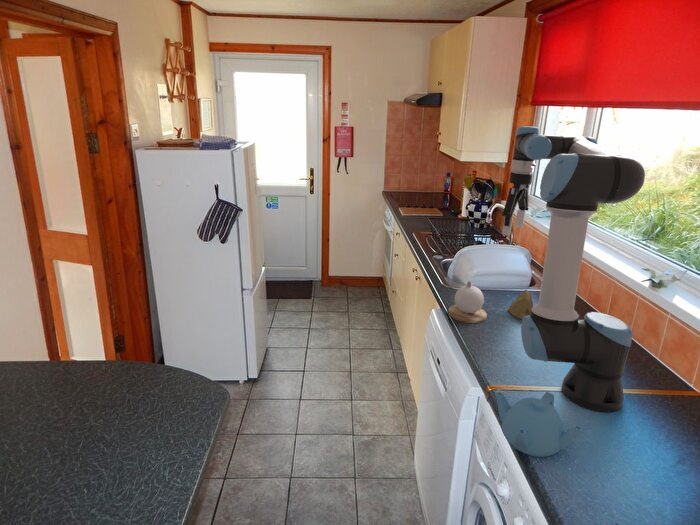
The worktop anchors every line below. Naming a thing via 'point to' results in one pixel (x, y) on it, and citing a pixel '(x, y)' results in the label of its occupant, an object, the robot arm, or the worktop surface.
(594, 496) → the worktop surface
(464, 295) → the ornament
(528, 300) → the rock
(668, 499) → the worktop surface
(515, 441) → the teapot
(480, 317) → the trivet
